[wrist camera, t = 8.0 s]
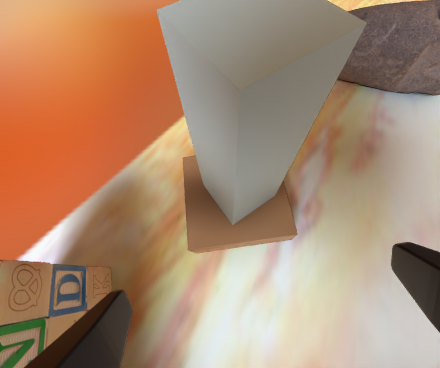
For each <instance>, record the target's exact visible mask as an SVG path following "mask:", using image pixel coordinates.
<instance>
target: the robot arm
mask: <svg viewBox="0 0 440 368" xmlns="http://www.w3.org/2000/svg"><path fill="white" fill-rule="evenodd" d="M391 266H392V270H393V271H394V273H395V274H396V276H397V277H398V278H399V280H400V281H401V283H402V284H403V285H404V287H405V288H406V289H407V291H408V292H409V293H410V295H411V296H412V297H413V299H414V300H415V302H416V303H417V304H418V306H419V307H420V308H421V310H422V311H423V312H424V314H425V315H426V316H427V318H428V319H429V320H430V321H431V323H432V324H433V325H434V326H435V327H436V329H437V330H438V331H439V332H440V252H438V251H435V250H432V249H429V248H426V247H423V246H420V245H417V244H414V243H411V242H403V243H397V244H394V246H393V248H392V259H391ZM132 312H133V309H132V305H131V303H130V301H129V299H128V297H127V294H126V292H125V291H124V290H116V291H111V292H110V293H108V294H107V295H106V296H105V297H104V298H103V299H102V300H100V301H99V302H98V303H97V304H96V305H95V306H94V307H92V308H91V309H90V310H89V311H88V312H87V313H86V314H84V315H83V316H82V317H81V318H80V319H79V320H78V321H76V322H75V323H74V324H73V325H72V326H71V327H70V328H68V329H67V330H66V331H65V332H64V333H63V334H61V335H60V336H59V337H58V338H57V339H56V340H55V341H53V342H52V343H51V344H50V345H49V346H48V347H47V348H45V349H44V350H43V351H42V352H41V353H40V354H39V355H37V356H36V357H35V358H34V359H33V360H32V361H31V362H29V363H28V364H27V365H26V366H25V367H24V368H120V365H121V361H122V357H123V353H124V349H125V344H126V340H127V335H128V331H129V327H130V322H131V318H132Z"/></svg>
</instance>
